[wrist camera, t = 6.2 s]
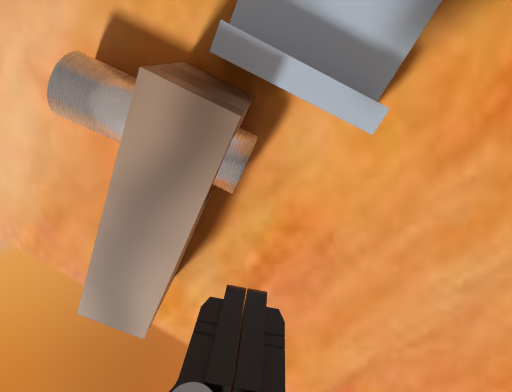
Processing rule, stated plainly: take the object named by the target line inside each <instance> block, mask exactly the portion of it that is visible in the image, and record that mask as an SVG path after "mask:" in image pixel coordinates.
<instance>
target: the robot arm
mask: <svg viewBox="0 0 512 392" xmlns="http://www.w3.org/2000/svg"><path fill="white" fill-rule="evenodd" d="M245 293H246V288H243V287H237V286H232V285H227V288H226V292H225V296H224V299H220V298H214V297H210V298H209V299H208V300H207V301H206V302H205V303H204V304H203V305H202V306H201V309H200V312H199V315H198V318H197V322H196V325H195V328H194V331H193V334H192V337H191V340H190V344H189V347H188V350H187V353H186V356H185V360H184V363H183V366H182V369H181V372H180V375H179V378H178V380H177V382H176V384H175V386H174V387H173V388H172V389H171V390H170V391H169V392H285V350H284V349H285V339H284V337H285V322H284V320H283V317H282V315H281V313H280V311H279V309H275V308H270V307H266V302H267V292H265V291H260V290H254V289H249V288H248V290H247V294H246V299H245ZM244 300H245V304H244ZM243 307H244V309H243ZM242 313H243V314H242Z"/></svg>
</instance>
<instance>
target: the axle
mask: <svg viewBox="0 0 512 392" xmlns="http://www.w3.org/2000/svg"><path fill="white" fill-rule="evenodd" d="M136 79H137V78H135V77H133V76H131V75H129V74H126V73H124V72H122V71H120V70H118V69H116V68H114V67H112V66H110V65H108V64H106V63H103V62H101V61H99V60H97V59H95V58H93V57H91V56H89V55H87V54H85V53H83V52H80V51H73V52H70V53H68V54H67V55H65V56H64V57H63V58H62V59H61V60H60V61H59V62H58V63H57V65H56V66H55V68H54V70H53V72H52V74H51V76H50V79H49V83H48V90H47V98H48V103H49V106H50V108H51V110H52V111H53V112H54V113H55V114H56V115H59V116H61V117H63V118H65V119H67V120H70V121H72V122H74V123H76V124H79V125H81V126H83V127H85V128H87V129H90V130H92V131H94V132H96V133H99V134H101V135H103V136H105V137H107V138H110V139H112V140H114V141H116V142H119V143H120V142H121V138H122V134H123V131H124V127H125V123H126V119H127V115H128V111H129V107H130V103H131V99H132V95H133V91H134V87H135V83H136ZM257 139H258V136H256V135H254V134H252V133H250V132H248V131H246V130H244V129H242V128H239V129H238V131H237V132H236V134H235V135H234V137H233V139H232V141H231V143H230V146H229V148H228V150H227V152H226V155H225V157H224V159H223V161H222V164H221V166H220V168H219V171H218V173H217V175H216V177H215V180H214V182H213V184H212V185H214V186H216V187H219V188H221V189H223V190H225V191H227V192H230V193H233V191H234V189H235V188H236V186H237V183H238V181H239V179H240V177H241V175H242V173H243V171H244V169H245V166H246V164H247V162H248V160H249V158H250V155H251V153H252V151H253V149H254V146H255V144H256V141H257Z"/></svg>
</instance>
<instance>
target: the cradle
mask: <svg viewBox="0 0 512 392" xmlns="http://www.w3.org/2000/svg"><path fill="white" fill-rule="evenodd" d="M441 1H442V0H238V1H237V3H236V6H235V9H234V12H233V14H232V17H231V20H230V23H227V22H225V21H223V20H220V23H219V25H218V28H217V31H216V34H215V37H214V40H213V43H212V45H211V48H210V51H209V52H211V53H213V54H215V55H217V56H219V57H221V58H223V59H225V60H227V61H229V62H231V63H233V64H235V65H237V66H239V67H241V68H243V69H244V70H246V71H248V72H250V73H252V74H254V75H256V76H258V77H260V78H262V79H264V80H266V81H268V82H270V83H272V84H274V85H276V86H278V87H280V88H282V89H284V90H286V91H287V92H289V93H291V94H293V95H295V96H297V97H299V98H301V99H303V100H305V101H307V102H309V103H311V104H313V105H315V106H317V107H319V108H321V109H323V110H325V111H327V112H329V113H330V114H332V115H334V116H336V117H338V118H340V119H342V120H344V121H346V122H348V123H350V124H352V125H354V126H356V127H358V128H360V129H362V130H364V131H366V132H368V133H370V134H372V135H373V133H374V132H375V130H376V129H377V127H378V126H379V124H380V123H381V121H382V120H383V118H384V117H385V115H386V114H387V112H388V111H389V109H390V108H388V107H386V106H384V105H382V104H381V103H379V102H377V101H378V100H379V98H380V97H381V95H382V93H383V92H384V90H385V89H386V87H387V86H388V84H389V83H390V81H391V79H392V78H393V76H394V75H395V73H396V72H397V70H398V69H399V67H400V65H401V64H402V62H403V61H404V59H405V58H406V56H407V54H408V53H409V51H410V50H411V48H412V47H413V45H414V44H415V42H416V40H417V39H418V37H419V36H420V34H421V33H422V31H423V30H424V28H425V26H426V25H427V23H428V22H429V20H430V19H431V17H432V15H433V14H434V12H435V11H436V9H437V8H438V6H439V5H440V3H441Z"/></svg>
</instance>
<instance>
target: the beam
mask: <svg viewBox="0 0 512 392" xmlns="http://www.w3.org/2000/svg"><path fill="white" fill-rule="evenodd" d="M253 99H254V96H252V95H250V94H248V93H246V92H244V91H242V90H240V89H238V88H236V87H234V86H232V85H230V84H228V83H226V82H224V81H222V80H220V79H218V78H216V77H214V76H212V75H210V74H208V73H206V72H204V71H202V70H200V69H198V68H196V67H194V66H192V65H190V64H188V63H186V62H178V63H169V64H160V65H150V66H141V67H139V71H138V75H137V79H136V83H135V87H134V91H133V95H132V99H131V103H130V107H129V111H128V115H127V119H126V123H125V127H124V131H123V134H122V138H121V142H120V146H119V150H118V154H117V158H116V162H115V166H114V170H113V174H112V178H111V182H110V186H109V190H108V194H107V198H106V202H105V206H104V209H103V213H102V217H101V221H100V225H99V229H98V233H97V237H96V241H95V245H94V249H93V253H92V257H91V261H90V265H89V269H88V273H87V277H86V281H85V284H84V288H83V292H82V296H81V300H80V304H79V309H78V313H77V314H79V315H81V316H84V317H87V318H89V319H92V320H95V321H97V322H100V323H102V324H105V325H108V326H110V327H113V328H115V329H118V330H121V331H123V332H126V333H128V334H131V335H134V336H136V337H139V338H142V339H144V337H145V335H146V333H147V331H148V329H149V327H150V325H151V323H152V321H153V319H154V317H155V315H156V313H157V311H158V309H159V307H160V305H161V303H162V301H163V299H164V297H165V295H166V293H167V291H168V289H169V287H170V285H171V283H172V281H173V279H174V277H175V275H176V272H177V270H178V268H179V266H180V263H181V261H182V259H183V257H184V254H185V252H186V250H187V248H188V245H189V243H190V241H191V239H192V236H193V234H194V232H195V230H196V227H197V225H198V223H199V221H200V218H201V216H202V214H203V212H204V209H205V207H206V205H207V203H208V200H209V198H210V196H211V194H212V191H213V189H214V187H215V186H214V185H212V184H213V182H214V180H215V177H216V175H217V173H218V171H219V168H220V166H221V164H222V161H223V159H224V157H225V155H226V152H227V150H228V148H229V146H230V143H231V141H232V139H233V137H234V135H235V134H236V132H237V131H238V129H239V127H240V126H241V124H242V122H243V121H244V119H245V117H246V115H247V113H248V110H249V108H250V106H251V104H252V101H253Z"/></svg>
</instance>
